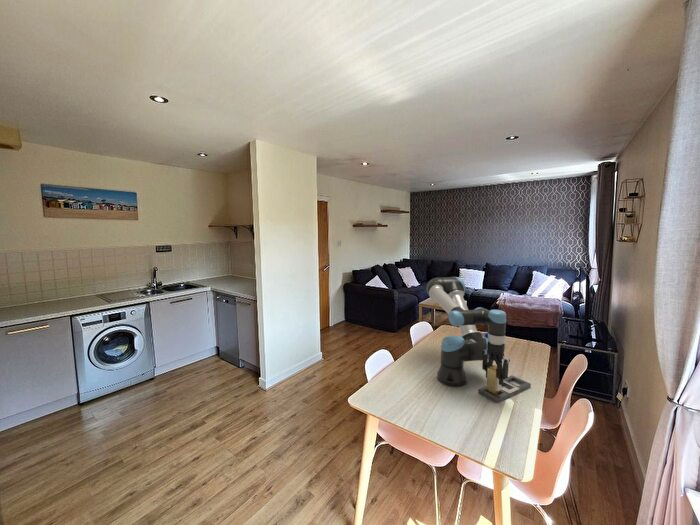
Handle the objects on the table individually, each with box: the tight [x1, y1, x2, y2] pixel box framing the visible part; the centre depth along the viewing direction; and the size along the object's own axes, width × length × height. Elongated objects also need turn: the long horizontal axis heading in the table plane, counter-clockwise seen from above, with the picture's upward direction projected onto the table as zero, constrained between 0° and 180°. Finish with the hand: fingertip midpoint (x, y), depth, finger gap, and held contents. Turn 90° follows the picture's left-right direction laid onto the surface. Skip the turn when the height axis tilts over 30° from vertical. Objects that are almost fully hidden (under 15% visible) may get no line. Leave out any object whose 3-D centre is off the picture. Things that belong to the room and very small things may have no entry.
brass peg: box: [486, 364, 501, 396], centre depth 143 cm, size 5×5×15 cm
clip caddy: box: [481, 331, 507, 348], centre depth 208 cm, size 10×18×5 cm, turn 19°
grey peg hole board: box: [477, 375, 532, 404], centre depth 148 cm, size 28×10×2 cm, turn 119°
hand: (493, 387), depth 144 cm, fingers closed on brass peg, 5 cm apart
